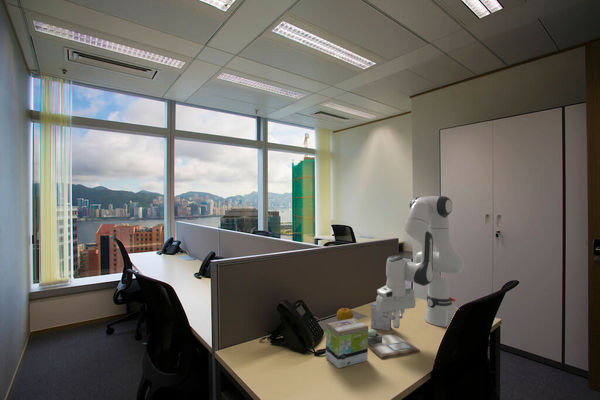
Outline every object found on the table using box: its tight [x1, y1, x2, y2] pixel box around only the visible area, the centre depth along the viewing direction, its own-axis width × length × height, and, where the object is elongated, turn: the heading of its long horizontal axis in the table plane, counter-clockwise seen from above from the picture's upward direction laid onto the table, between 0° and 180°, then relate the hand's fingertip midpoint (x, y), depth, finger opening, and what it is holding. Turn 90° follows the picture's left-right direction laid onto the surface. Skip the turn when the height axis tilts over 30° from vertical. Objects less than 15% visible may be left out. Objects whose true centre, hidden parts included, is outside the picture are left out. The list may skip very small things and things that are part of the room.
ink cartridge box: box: [370, 302, 392, 332], centre depth 152 cm, size 10×6×14 cm, turn 66°
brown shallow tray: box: [368, 331, 421, 360], centre depth 132 cm, size 20×18×4 cm
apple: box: [336, 307, 354, 321], centre depth 155 cm, size 9×9×9 cm
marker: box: [392, 310, 401, 329], centre depth 138 cm, size 3×3×10 cm
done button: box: [368, 328, 377, 337], centre depth 135 cm, size 4×4×3 cm
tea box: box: [325, 317, 369, 369], centre depth 121 cm, size 15×10×15 cm
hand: (396, 318), depth 138 cm, fingers closed on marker, 3 cm apart
